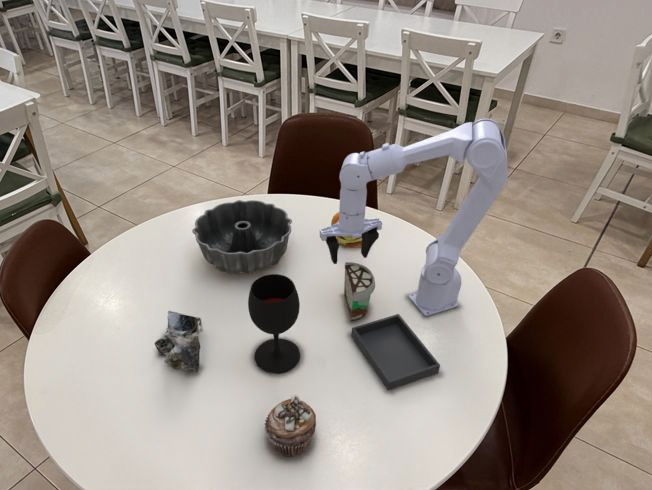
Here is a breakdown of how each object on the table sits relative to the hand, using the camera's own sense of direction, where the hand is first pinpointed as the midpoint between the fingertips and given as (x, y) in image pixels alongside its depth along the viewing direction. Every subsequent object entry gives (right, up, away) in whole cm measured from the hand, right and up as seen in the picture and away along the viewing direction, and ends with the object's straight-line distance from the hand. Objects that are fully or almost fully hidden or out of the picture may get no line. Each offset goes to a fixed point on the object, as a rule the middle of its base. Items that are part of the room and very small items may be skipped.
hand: (349, 258), depth 119 cm
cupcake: (-14, -38, -24) cm, 47 cm away
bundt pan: (-27, +3, +20) cm, 33 cm away
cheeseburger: (+3, +8, +24) cm, 25 cm away
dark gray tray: (+9, -22, -9) cm, 26 cm away
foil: (-38, -22, -6) cm, 44 cm away
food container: (+3, -12, +3) cm, 13 cm away
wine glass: (-17, -23, -8) cm, 30 cm away
